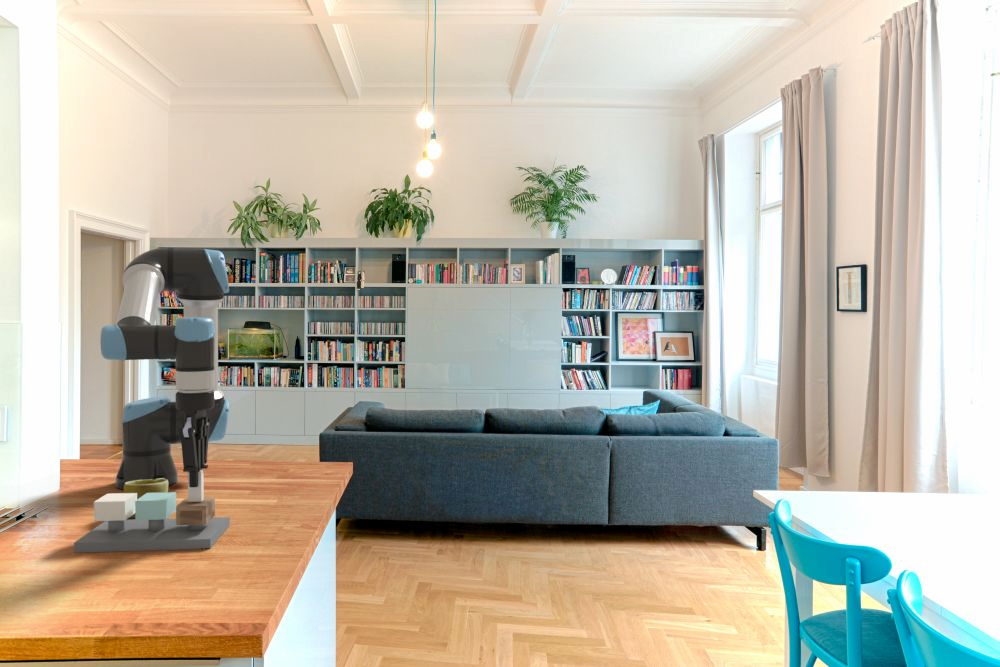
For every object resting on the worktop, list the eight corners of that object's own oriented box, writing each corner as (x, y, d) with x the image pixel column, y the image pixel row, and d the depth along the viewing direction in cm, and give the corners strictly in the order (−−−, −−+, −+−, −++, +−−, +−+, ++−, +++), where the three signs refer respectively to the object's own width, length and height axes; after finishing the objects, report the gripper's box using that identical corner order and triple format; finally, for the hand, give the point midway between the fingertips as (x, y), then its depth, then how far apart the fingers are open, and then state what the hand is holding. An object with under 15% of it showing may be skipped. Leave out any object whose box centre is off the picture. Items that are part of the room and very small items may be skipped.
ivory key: (107, 512, 143) (107, 493, 143) (137, 511, 144) (137, 492, 144) (94, 521, 137) (93, 501, 137) (125, 520, 138) (124, 501, 138)
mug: (151, 516, 150) (146, 472, 152) (114, 527, 152) (109, 483, 154) (190, 511, 162) (184, 470, 164) (154, 521, 164) (149, 480, 166)
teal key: (147, 511, 144) (146, 492, 144) (176, 510, 145) (176, 492, 145) (135, 520, 138) (135, 500, 138) (166, 519, 139) (165, 500, 139)
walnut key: (186, 516, 145) (186, 497, 145) (215, 515, 146) (214, 497, 146) (176, 525, 139) (176, 506, 139) (206, 524, 140) (206, 505, 140)
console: (106, 529, 147) (106, 505, 147) (229, 525, 150) (229, 503, 150) (74, 552, 133) (73, 526, 133) (210, 548, 136) (210, 523, 136)
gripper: (187, 386, 147) (187, 492, 148) (164, 394, 134) (165, 510, 135) (222, 386, 148) (223, 491, 149) (204, 394, 135) (204, 509, 136)
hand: (195, 500), depth 142 cm, fingers closed
